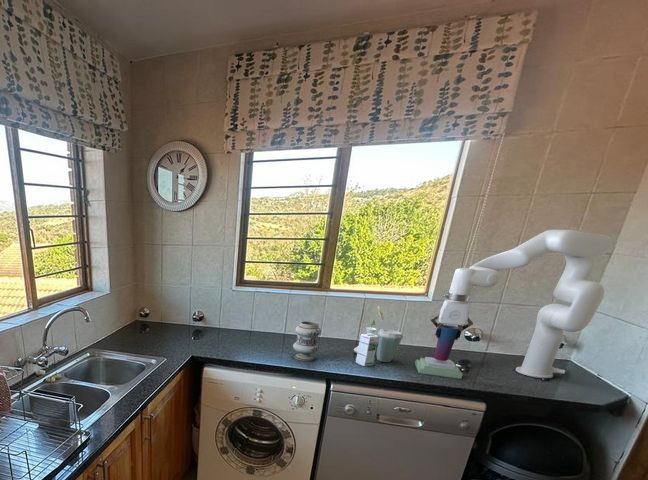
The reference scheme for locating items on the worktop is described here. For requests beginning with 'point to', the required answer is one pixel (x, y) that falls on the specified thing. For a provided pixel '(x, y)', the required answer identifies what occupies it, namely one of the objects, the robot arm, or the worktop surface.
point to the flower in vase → (370, 329)
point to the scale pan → (439, 363)
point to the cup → (445, 342)
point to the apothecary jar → (306, 340)
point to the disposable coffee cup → (388, 344)
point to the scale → (437, 370)
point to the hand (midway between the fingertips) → (446, 337)
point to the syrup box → (367, 349)
